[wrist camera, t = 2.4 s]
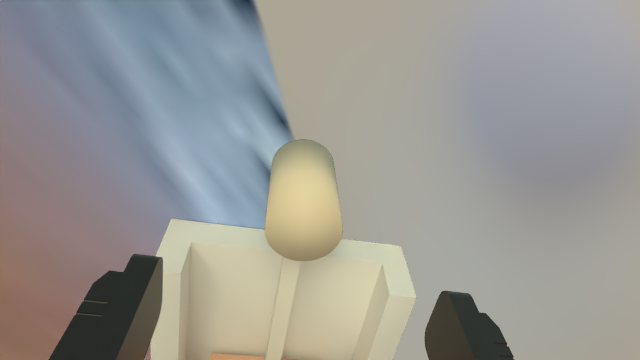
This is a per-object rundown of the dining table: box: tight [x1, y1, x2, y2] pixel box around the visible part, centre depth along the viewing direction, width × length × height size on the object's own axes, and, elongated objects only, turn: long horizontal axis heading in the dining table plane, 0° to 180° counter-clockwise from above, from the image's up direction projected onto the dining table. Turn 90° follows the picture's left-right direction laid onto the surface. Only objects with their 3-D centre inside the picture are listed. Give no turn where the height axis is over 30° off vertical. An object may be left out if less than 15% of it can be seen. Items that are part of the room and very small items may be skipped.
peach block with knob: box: [210, 139, 343, 360], centre depth 20 cm, size 17×6×6 cm, turn 170°
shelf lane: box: [151, 219, 417, 360], centre depth 23 cm, size 13×11×4 cm
